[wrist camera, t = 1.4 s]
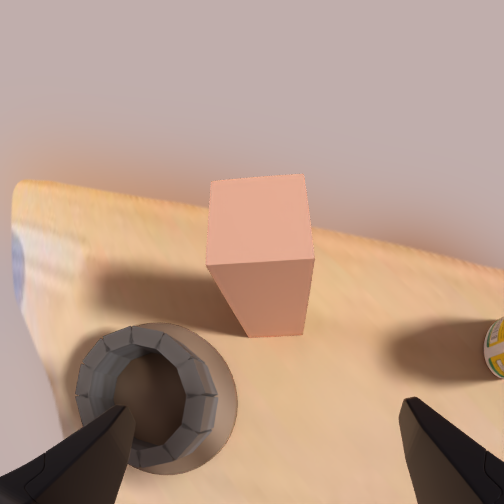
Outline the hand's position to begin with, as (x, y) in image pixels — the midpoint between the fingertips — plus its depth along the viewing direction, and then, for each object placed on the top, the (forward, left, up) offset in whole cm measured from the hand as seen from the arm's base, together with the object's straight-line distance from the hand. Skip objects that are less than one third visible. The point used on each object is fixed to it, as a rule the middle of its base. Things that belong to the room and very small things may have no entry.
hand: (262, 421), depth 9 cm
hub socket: (-5, +7, -13) cm, 16 cm away
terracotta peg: (+6, +5, -13) cm, 15 cm away
